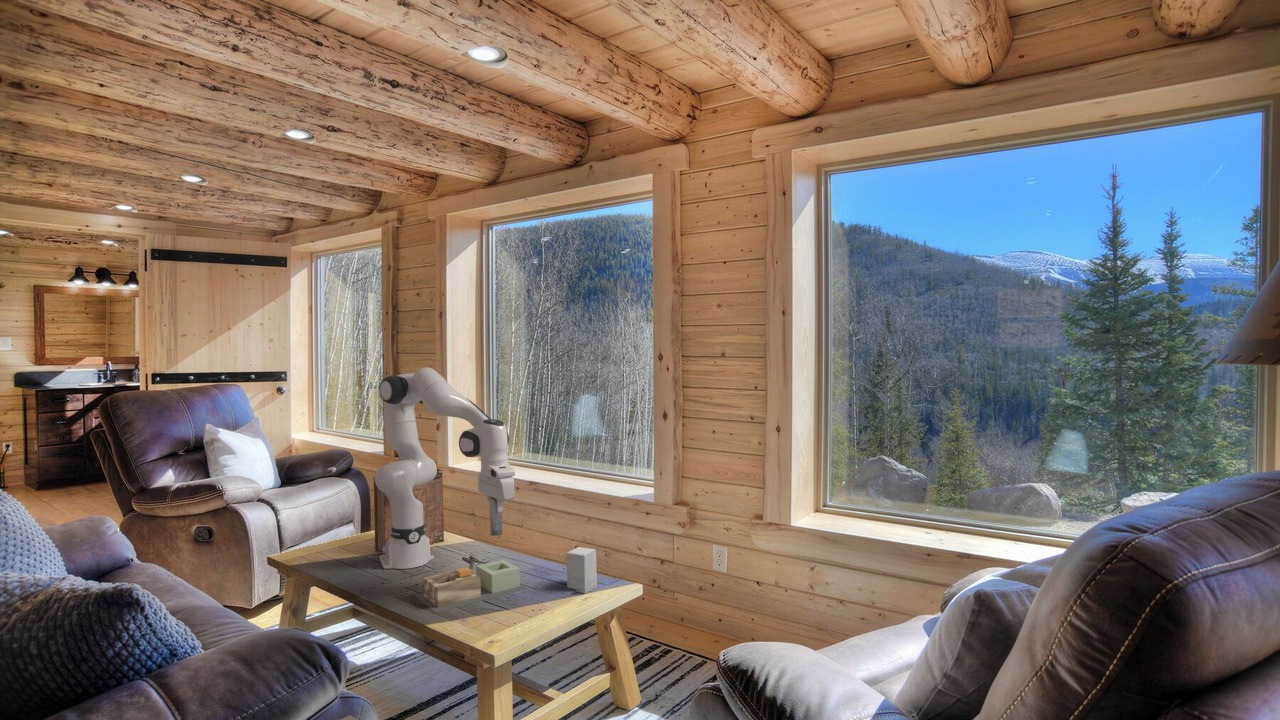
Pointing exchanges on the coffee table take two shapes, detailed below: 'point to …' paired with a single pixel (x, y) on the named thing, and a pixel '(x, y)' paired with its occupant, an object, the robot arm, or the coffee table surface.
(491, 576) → the frame
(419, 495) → the book
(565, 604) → the coffee table surface
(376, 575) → the coffee table surface
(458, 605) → the mat
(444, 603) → the socket block
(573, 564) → the supplement box
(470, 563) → the pliers
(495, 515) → the grey cylindrical peg
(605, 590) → the coffee table surface
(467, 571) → the key
